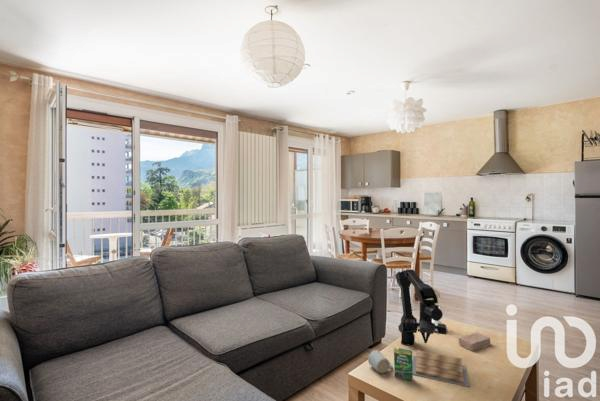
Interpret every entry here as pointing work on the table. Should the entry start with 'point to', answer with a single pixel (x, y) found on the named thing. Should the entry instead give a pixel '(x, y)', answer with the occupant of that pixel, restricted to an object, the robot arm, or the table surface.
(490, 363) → the table surface
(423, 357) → the click plank
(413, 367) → the underlay
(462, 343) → the brick
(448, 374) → the laid board
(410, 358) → the coffee box
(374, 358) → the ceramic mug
